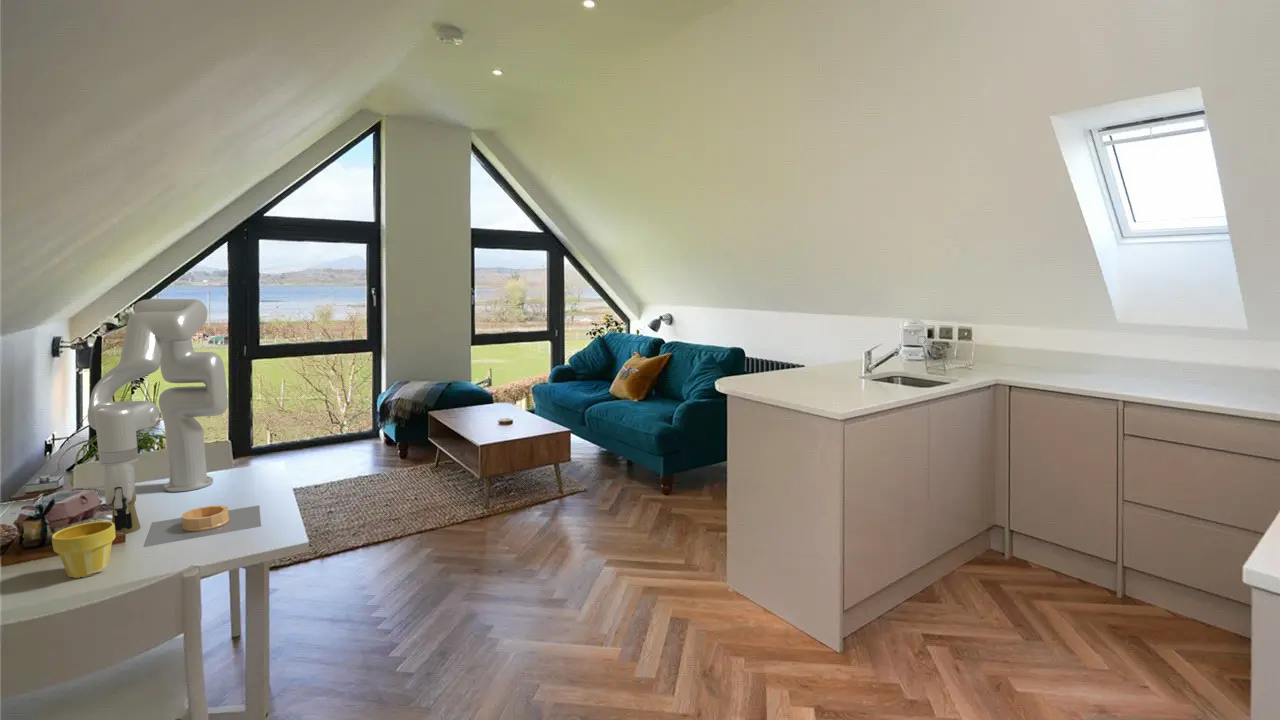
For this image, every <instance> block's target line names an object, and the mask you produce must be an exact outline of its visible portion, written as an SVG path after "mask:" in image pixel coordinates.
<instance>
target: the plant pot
mask: <svg viewBox="0 0 1280 720" xmlns="http://www.w3.org/2000/svg"><path fill="white" fill-rule="evenodd" d="M116 537H117V535H116V533H115V525H114V523H113V522H112V521H106V520H102V521H101V520H99V521H90V522H89V521H88V522H84V523H80V524H74V525H71V526H68V527H66V528H62V529H61V530H58V531H56V532H54V533H53V534H52V536H51V544H52V548H53V549H52V550H53V552H54V553H55V554H56V553H57V554H58V556H59V558H60V560H61V562H62V565H63V567H64V569H65V572H66V574H67V575H68V577H69V578H71V577H73V578H72V579H81V578H80V577H83V578H88V577H92V576H95V574H96V575H98V574H101V573H103V572H102V571H103V568H106V567H107V566H108V565H109V564H110V560H111V558H110V557H111V551H112V544H113V542H114V540H115V539H116ZM99 570H101V571H99ZM100 572H101V573H100Z"/></svg>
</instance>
